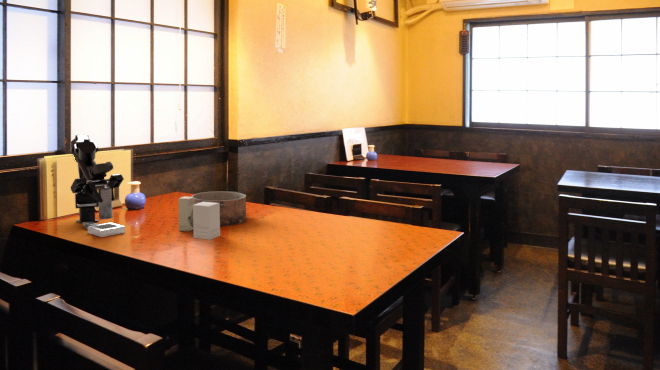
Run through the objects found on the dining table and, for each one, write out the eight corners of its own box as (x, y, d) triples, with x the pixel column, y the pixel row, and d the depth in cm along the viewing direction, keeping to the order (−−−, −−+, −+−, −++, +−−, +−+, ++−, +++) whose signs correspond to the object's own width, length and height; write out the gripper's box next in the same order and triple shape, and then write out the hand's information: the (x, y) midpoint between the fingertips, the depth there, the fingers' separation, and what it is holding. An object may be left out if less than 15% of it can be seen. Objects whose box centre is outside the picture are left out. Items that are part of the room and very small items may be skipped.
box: (188, 231, 207) (188, 198, 205) (178, 230, 207) (177, 198, 205) (194, 228, 212) (194, 196, 210) (184, 227, 212) (184, 196, 210)
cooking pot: (207, 212, 244) (207, 189, 242) (254, 215, 240) (254, 191, 239) (179, 227, 214) (178, 200, 213) (232, 230, 211) (232, 203, 209)
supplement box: (220, 235, 202) (220, 202, 200) (210, 240, 195) (209, 206, 193) (203, 233, 204) (203, 201, 202) (192, 238, 197) (192, 204, 196)
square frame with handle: (73, 228, 206) (73, 222, 206) (96, 224, 214) (96, 218, 214) (101, 237, 195) (101, 230, 195) (125, 232, 203) (124, 226, 202)
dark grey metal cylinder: (96, 217, 200) (95, 187, 198) (108, 215, 204) (106, 186, 202) (103, 219, 198) (102, 189, 196) (115, 217, 201) (113, 187, 199)
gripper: (73, 156, 192) (91, 190, 187) (120, 153, 207) (138, 184, 202) (62, 176, 198) (80, 209, 193) (109, 171, 213) (126, 202, 208)
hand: (107, 201), depth 199 cm, fingers closed on dark grey metal cylinder, 5 cm apart
